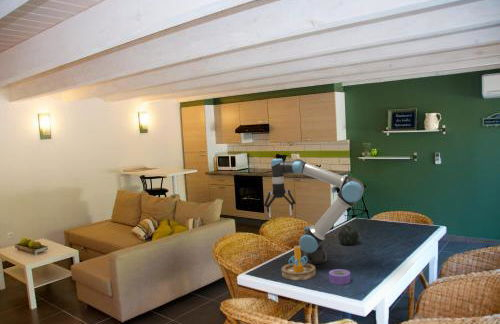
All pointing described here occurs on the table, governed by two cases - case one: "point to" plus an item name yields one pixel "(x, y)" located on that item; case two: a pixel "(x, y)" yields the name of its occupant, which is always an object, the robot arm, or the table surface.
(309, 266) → the round brown basket
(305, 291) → the table surface
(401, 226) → the table surface
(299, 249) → the orange upright piece
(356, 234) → the squash
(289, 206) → the robot arm
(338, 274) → the tape roll
